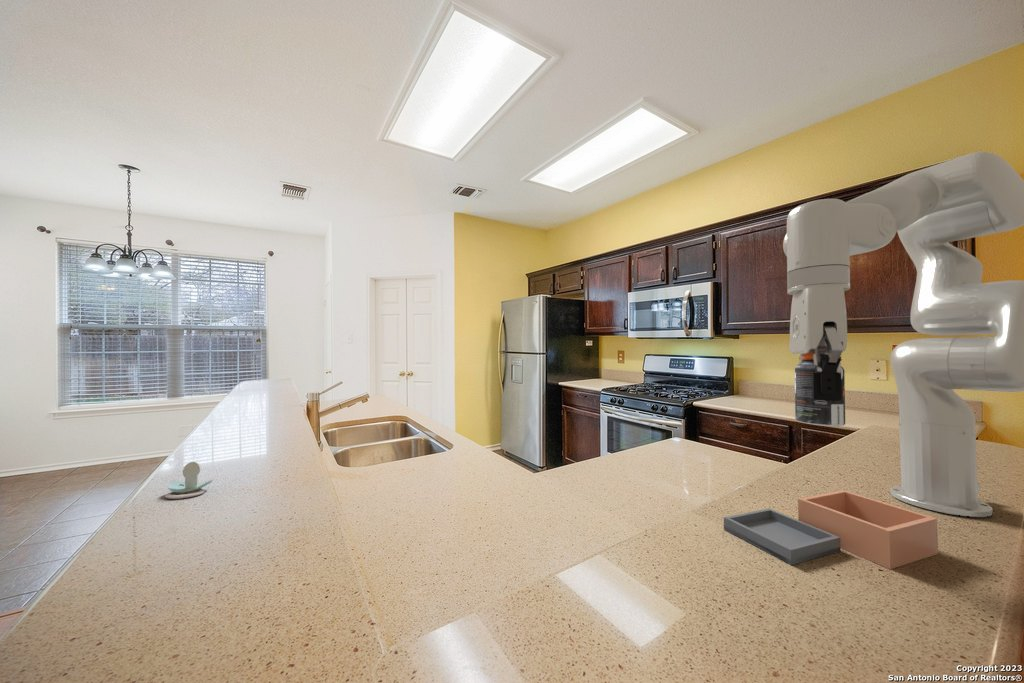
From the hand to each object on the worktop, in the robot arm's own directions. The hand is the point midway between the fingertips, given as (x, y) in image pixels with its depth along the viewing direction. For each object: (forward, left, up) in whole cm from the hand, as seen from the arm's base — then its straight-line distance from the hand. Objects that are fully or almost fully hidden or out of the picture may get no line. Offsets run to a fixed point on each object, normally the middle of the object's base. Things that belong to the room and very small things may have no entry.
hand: (818, 396), depth 56 cm
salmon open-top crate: (-6, +2, -22) cm, 23 cm away
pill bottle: (0, 0, -4) cm, 4 cm away
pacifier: (+102, -55, -22) cm, 118 cm away
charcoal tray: (+6, -2, -22) cm, 23 cm away
